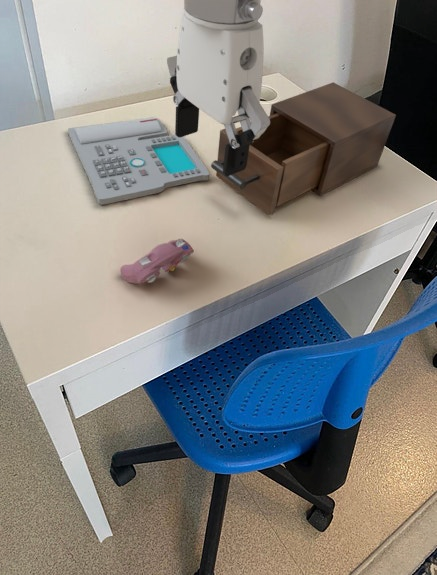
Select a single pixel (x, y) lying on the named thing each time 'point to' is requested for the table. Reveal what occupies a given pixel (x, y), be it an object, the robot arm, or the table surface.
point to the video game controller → (157, 261)
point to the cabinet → (340, 130)
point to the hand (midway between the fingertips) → (209, 152)
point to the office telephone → (134, 159)
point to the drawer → (276, 164)
